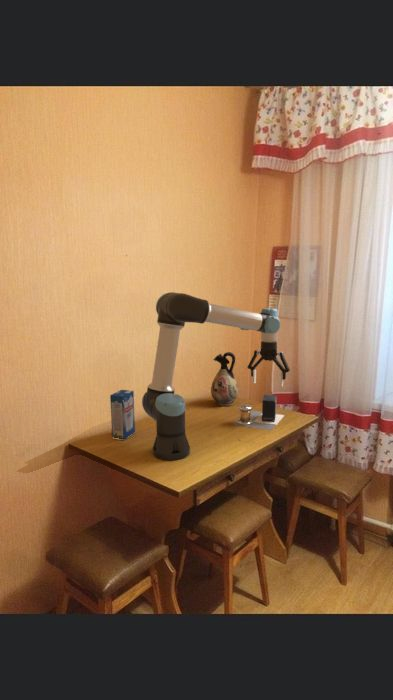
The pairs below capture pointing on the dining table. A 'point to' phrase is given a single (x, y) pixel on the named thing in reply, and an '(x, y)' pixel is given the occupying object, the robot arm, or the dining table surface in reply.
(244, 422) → the bobbin
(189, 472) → the dining table surface
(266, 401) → the small box
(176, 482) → the dining table surface
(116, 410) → the milk carton
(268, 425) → the board
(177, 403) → the robot arm
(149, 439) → the dining table surface
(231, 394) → the ceramic jug
